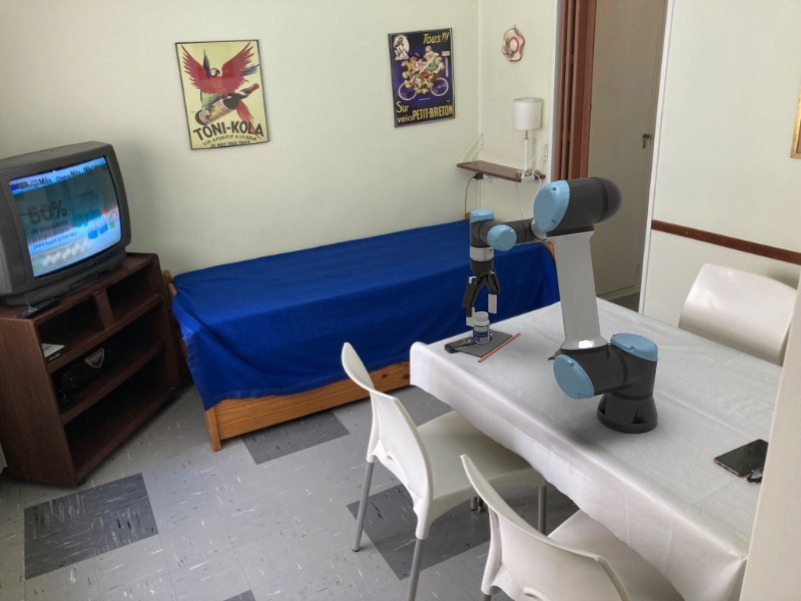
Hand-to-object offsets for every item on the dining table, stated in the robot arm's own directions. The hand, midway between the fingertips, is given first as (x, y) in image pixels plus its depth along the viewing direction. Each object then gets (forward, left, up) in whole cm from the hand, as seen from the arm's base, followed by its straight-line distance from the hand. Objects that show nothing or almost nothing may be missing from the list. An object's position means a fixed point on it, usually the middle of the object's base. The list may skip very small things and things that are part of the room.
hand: (481, 319), depth 215 cm
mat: (0, -1, -9) cm, 9 cm away
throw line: (0, -7, -9) cm, 11 cm away
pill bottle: (0, 0, -8) cm, 8 cm away
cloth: (+13, -29, -10) cm, 33 cm away
